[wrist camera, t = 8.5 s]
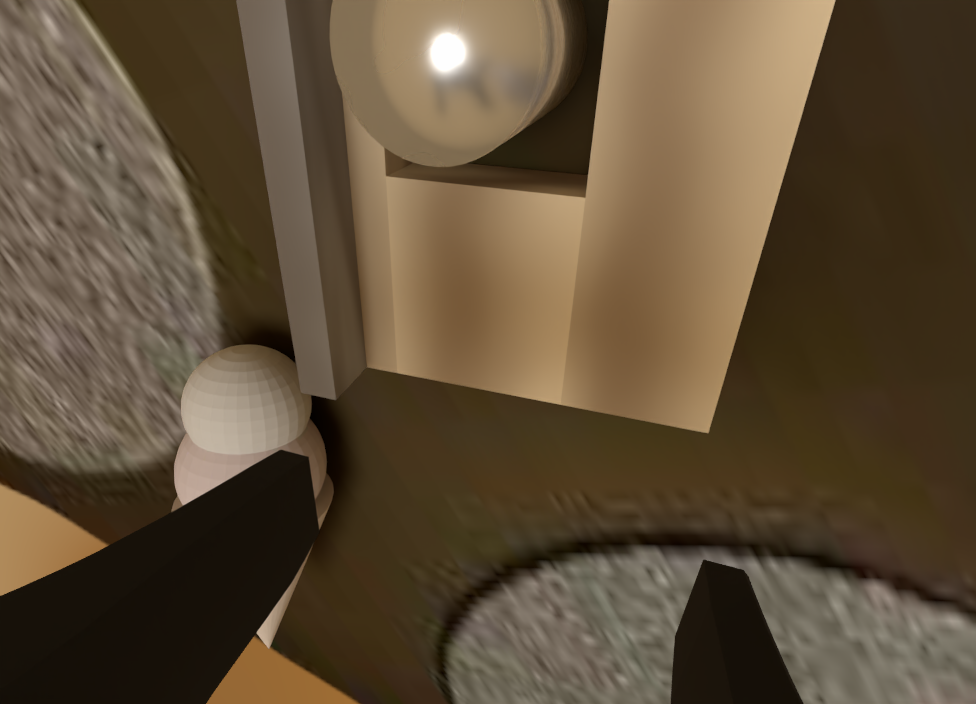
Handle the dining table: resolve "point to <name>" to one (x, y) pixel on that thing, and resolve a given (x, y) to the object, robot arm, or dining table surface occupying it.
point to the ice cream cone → (247, 431)
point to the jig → (541, 216)
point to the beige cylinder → (454, 70)
